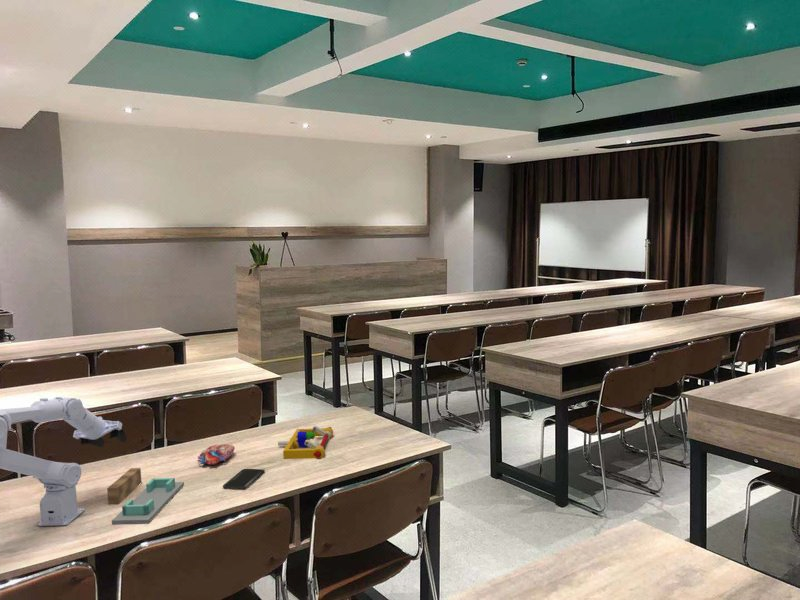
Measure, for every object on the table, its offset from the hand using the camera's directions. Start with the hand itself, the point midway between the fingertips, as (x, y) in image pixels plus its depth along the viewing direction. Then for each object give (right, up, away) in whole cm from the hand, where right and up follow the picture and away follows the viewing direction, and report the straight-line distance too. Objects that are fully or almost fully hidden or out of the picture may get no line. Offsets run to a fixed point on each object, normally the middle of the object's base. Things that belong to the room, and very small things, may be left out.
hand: (114, 441), depth 191 cm
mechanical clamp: (+53, -10, +36) cm, 65 cm away
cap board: (+16, -15, -11) cm, 24 cm away
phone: (+39, -14, +5) cm, 41 cm away
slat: (+5, -15, -3) cm, 16 cm away
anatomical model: (+24, -12, +23) cm, 35 cm away
